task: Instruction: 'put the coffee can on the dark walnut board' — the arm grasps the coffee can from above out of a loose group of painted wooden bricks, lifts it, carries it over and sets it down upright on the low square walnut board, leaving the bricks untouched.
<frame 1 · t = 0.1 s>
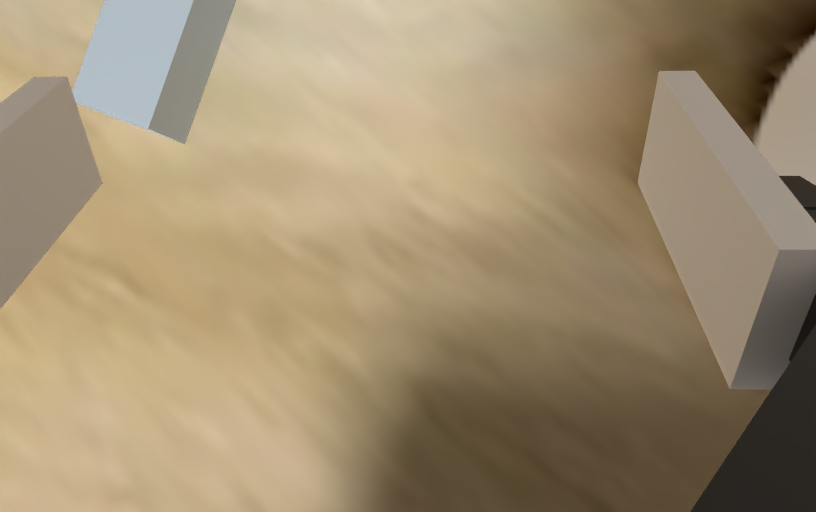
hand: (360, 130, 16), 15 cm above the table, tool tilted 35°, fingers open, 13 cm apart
blue grey brick: (176, 60, 32), on the table
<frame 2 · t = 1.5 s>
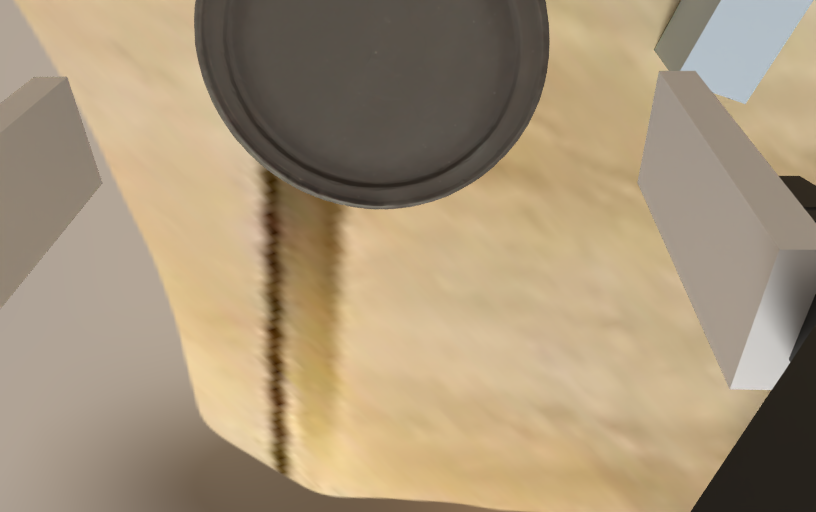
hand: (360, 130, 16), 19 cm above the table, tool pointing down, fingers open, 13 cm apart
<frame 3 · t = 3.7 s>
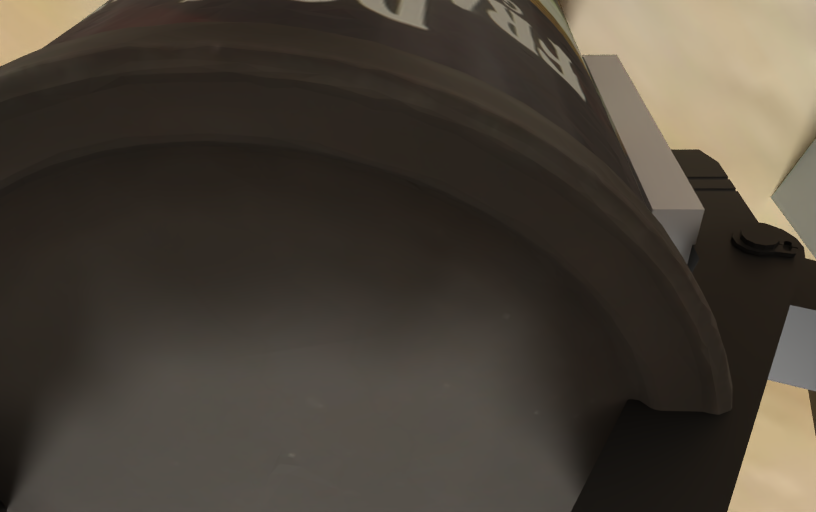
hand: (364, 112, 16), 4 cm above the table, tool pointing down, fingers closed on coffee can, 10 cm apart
coffee can: (377, 55, 20), on the table, touching gripper
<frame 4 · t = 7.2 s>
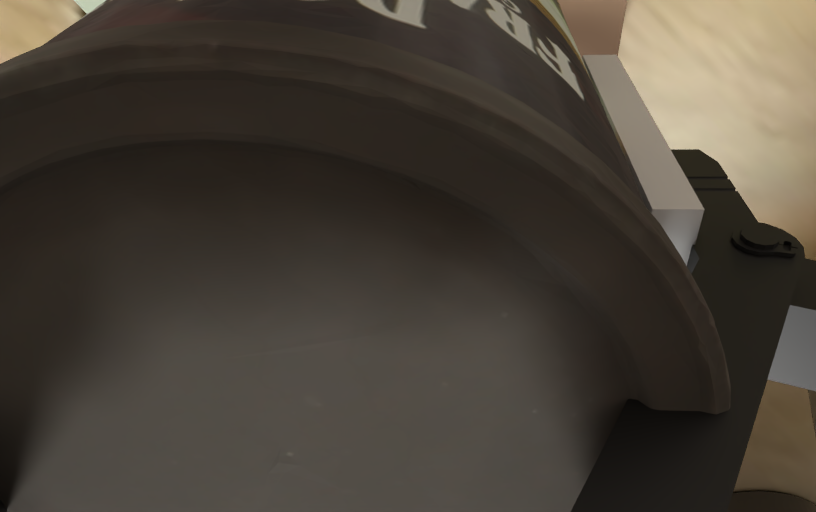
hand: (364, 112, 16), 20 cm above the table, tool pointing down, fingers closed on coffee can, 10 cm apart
coffee can: (376, 54, 20), point 16 cm above the table, touching gripper
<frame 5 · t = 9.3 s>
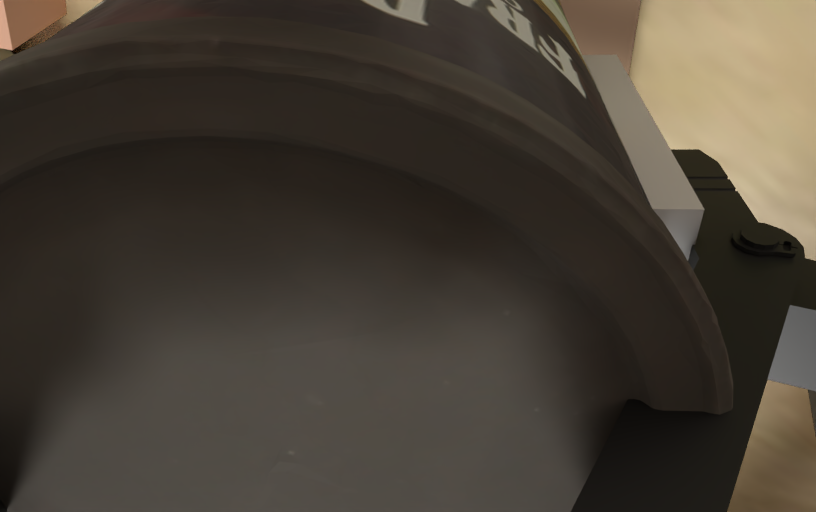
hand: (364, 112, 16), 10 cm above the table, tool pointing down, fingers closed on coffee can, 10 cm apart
coffee can: (377, 53, 20), point 6 cm above the table, touching gripper
when the fingers open (7 cm above the table, at t = 11.0 s): coffee can stays where it is, resting on walnut board.
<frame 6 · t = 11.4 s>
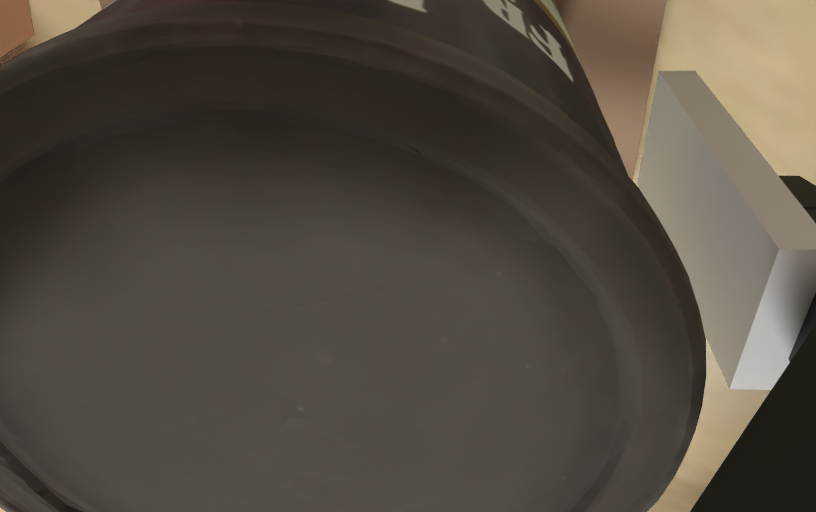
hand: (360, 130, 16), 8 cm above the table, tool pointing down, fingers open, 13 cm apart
coffee can: (378, 47, 20), point 2 cm above the table, touching walnut board
walnut board: (386, 21, 22), on the table
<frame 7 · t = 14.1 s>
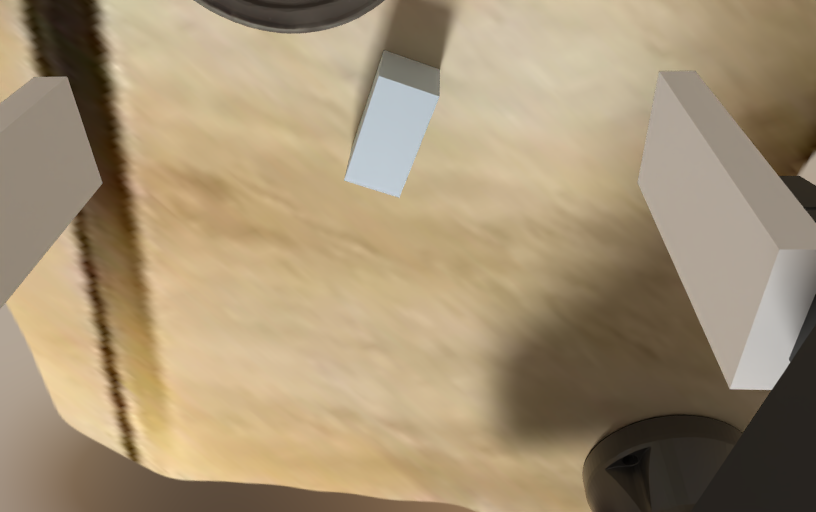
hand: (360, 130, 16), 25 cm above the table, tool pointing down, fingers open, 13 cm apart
blue grey brick: (393, 110, 43), on the table
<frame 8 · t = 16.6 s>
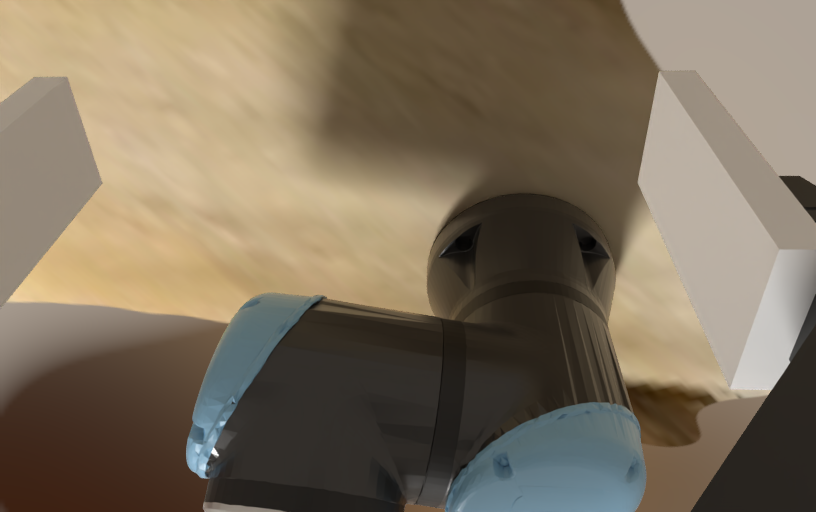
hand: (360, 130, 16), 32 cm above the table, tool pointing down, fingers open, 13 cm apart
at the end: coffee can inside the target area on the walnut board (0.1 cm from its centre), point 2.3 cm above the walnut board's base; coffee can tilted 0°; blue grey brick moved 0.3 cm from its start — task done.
